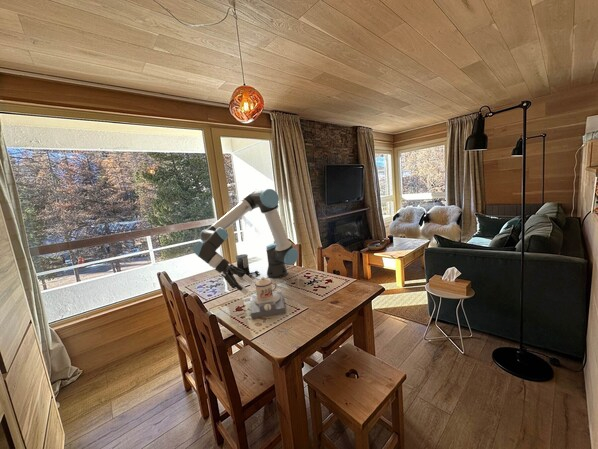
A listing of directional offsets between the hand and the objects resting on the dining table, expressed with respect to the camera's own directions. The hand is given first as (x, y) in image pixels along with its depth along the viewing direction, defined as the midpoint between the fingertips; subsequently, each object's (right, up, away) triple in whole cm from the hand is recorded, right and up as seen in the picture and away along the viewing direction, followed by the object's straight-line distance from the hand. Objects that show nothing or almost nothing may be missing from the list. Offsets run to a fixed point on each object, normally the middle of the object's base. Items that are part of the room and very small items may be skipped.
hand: (250, 287), depth 139 cm
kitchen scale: (+10, -10, -1) cm, 14 cm away
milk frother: (-11, -4, +53) cm, 55 cm away
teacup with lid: (+9, -6, +2) cm, 11 cm away
